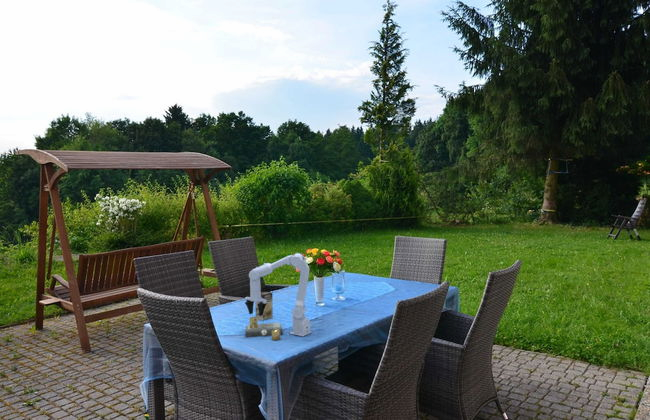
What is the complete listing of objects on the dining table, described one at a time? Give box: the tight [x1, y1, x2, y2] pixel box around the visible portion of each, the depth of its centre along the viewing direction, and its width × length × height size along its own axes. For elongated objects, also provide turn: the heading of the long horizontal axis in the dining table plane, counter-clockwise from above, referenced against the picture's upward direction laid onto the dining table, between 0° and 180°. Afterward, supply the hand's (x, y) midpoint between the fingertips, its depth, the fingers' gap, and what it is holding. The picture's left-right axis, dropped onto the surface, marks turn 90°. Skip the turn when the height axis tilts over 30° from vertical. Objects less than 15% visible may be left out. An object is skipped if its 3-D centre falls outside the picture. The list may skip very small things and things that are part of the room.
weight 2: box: [271, 329, 281, 342], centre depth 253 cm, size 4×4×5 cm
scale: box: [245, 322, 284, 338], centre depth 265 cm, size 14×20×4 cm
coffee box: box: [254, 291, 274, 322], centre depth 295 cm, size 9×6×16 cm
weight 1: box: [249, 316, 259, 328], centre depth 266 cm, size 4×4×5 cm
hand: (256, 314), depth 264 cm, fingers open, 7 cm apart
